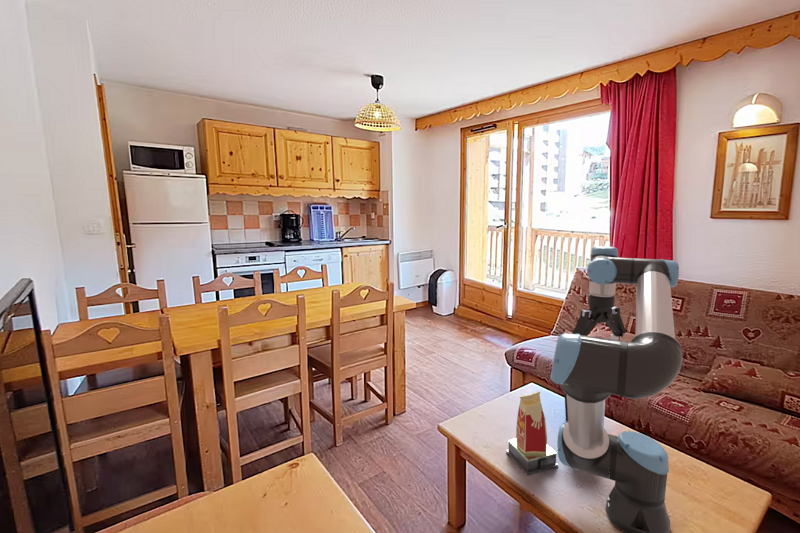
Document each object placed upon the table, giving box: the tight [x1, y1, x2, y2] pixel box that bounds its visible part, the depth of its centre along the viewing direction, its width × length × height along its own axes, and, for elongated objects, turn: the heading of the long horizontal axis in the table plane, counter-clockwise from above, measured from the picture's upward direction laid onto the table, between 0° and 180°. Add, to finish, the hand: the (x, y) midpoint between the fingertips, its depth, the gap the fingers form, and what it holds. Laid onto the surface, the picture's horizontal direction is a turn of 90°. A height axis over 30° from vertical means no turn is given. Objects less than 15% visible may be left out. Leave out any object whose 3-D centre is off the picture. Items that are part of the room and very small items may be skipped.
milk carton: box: [515, 390, 548, 454], centre depth 129 cm, size 9×9×20 cm
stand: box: [506, 438, 559, 476], centre depth 131 cm, size 12×12×5 cm
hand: (597, 356), depth 126 cm, fingers open, 13 cm apart
